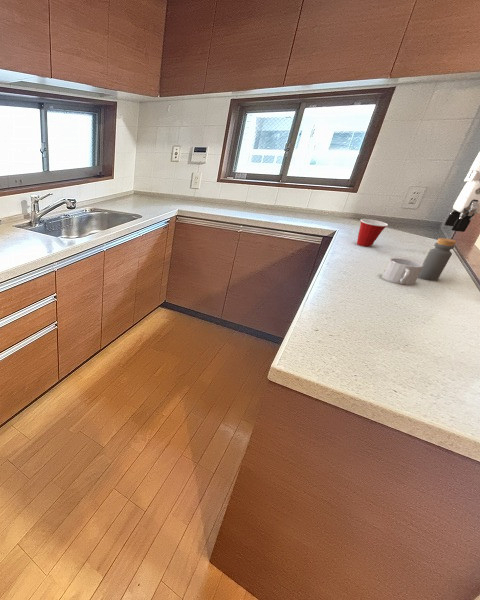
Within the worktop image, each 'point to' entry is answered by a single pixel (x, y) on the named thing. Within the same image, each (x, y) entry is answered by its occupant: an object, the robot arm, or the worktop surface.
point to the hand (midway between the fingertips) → (453, 228)
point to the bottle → (437, 259)
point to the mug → (402, 271)
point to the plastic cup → (369, 231)
